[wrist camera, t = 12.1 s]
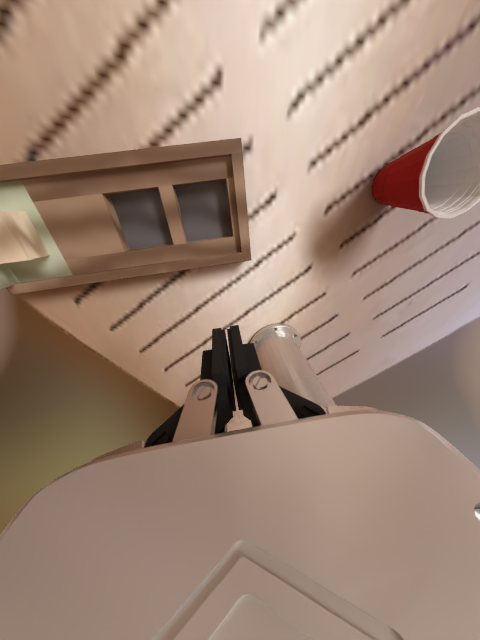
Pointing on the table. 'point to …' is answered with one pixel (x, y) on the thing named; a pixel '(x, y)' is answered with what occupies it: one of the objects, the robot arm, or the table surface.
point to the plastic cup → (436, 172)
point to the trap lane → (128, 213)
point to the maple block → (19, 238)
